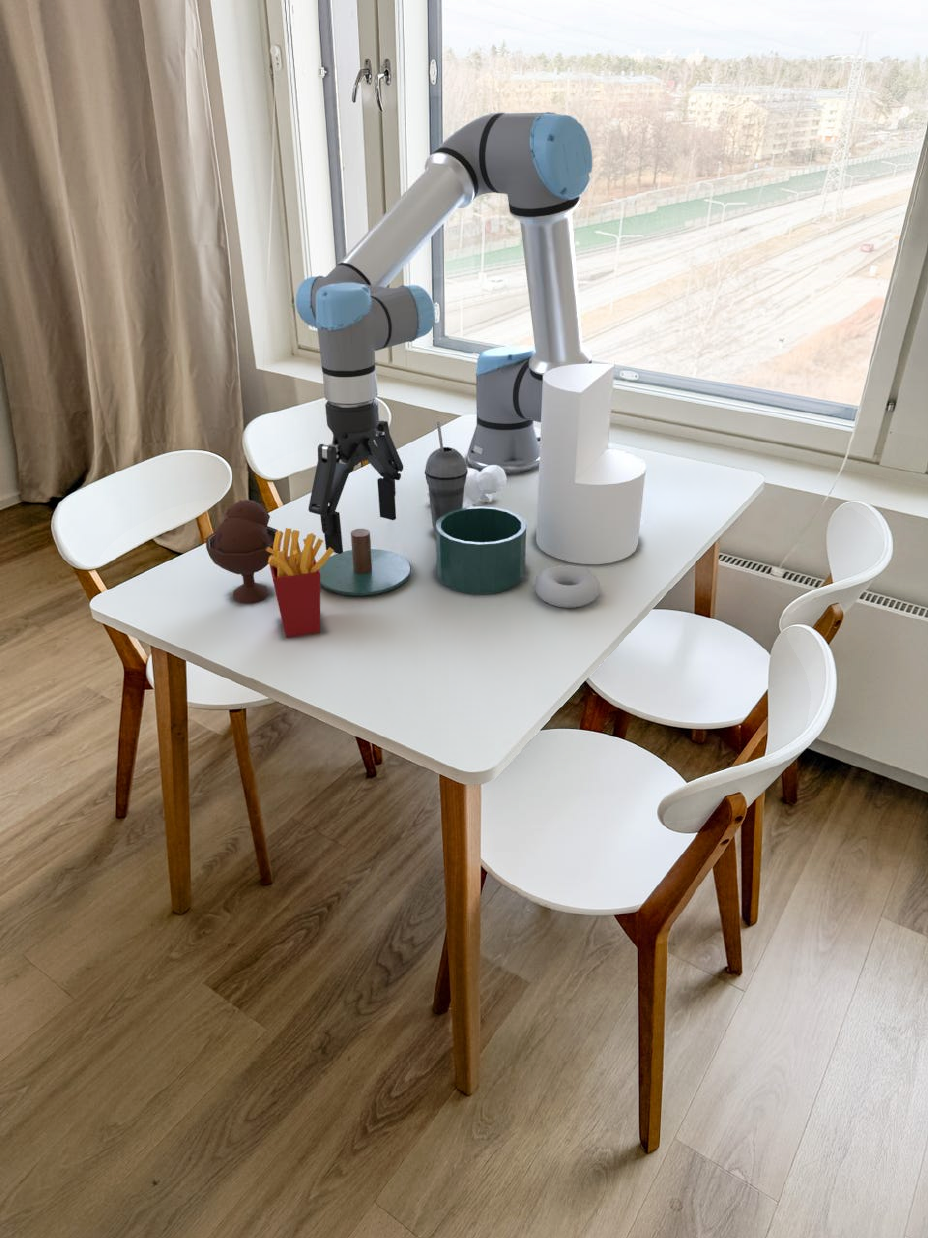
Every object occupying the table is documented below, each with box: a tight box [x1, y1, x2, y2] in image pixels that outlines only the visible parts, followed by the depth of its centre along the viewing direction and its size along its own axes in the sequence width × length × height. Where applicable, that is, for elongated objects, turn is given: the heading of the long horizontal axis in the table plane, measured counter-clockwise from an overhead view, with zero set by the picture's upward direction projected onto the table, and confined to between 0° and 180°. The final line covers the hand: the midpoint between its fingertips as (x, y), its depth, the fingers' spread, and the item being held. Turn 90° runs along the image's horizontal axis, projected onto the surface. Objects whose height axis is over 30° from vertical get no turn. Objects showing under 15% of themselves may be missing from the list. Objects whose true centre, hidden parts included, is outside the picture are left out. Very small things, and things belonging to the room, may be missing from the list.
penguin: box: [426, 465, 507, 508], centre depth 161 cm, size 9×8×15 cm
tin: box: [435, 505, 527, 595], centre depth 138 cm, size 14×14×8 cm
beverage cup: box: [424, 421, 468, 537], centre depth 148 cm, size 7×7×20 cm
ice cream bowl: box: [205, 499, 279, 604], centre depth 131 cm, size 11×11×15 cm
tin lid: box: [319, 528, 411, 596], centre depth 138 cm, size 15×15×8 cm
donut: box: [533, 564, 601, 609], centre depth 133 cm, size 10×4×10 cm
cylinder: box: [535, 363, 647, 565], centre depth 143 cm, size 17×17×28 cm
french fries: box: [266, 527, 334, 638], centre depth 123 cm, size 9×8×15 cm
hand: (362, 534), depth 136 cm, fingers open, 13 cm apart
